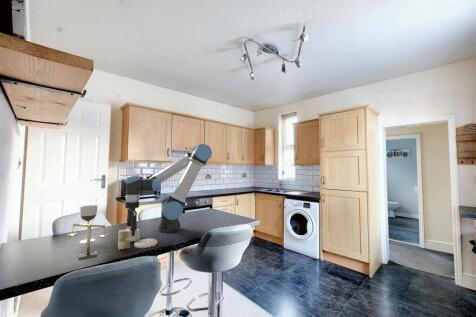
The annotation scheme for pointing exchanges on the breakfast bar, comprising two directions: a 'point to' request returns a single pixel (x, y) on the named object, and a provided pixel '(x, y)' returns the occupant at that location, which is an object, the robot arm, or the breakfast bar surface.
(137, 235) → the pale green open box
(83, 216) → the wineglass
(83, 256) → the balance
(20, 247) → the breakfast bar surface
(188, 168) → the robot arm
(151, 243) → the dish
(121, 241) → the block
